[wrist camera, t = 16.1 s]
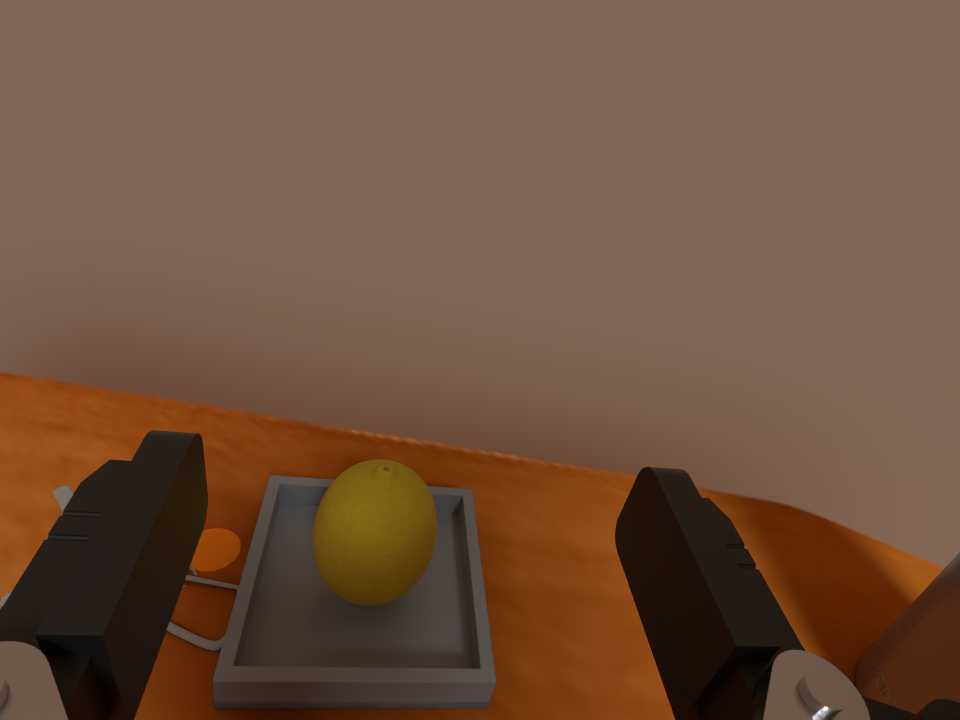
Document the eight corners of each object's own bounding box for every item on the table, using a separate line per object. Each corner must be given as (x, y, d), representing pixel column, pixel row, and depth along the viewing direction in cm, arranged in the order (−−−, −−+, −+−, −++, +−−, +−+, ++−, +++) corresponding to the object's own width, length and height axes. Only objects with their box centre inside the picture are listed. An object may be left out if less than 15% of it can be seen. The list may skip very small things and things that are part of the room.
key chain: (292, 548, 31) (292, 537, 31) (212, 680, 25) (211, 669, 24) (69, 482, 32) (66, 470, 31) (-63, 594, 26) (-69, 581, 25)
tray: (465, 513, 35) (472, 489, 34) (486, 708, 26) (496, 683, 25) (269, 501, 33) (270, 474, 32) (214, 708, 24) (212, 681, 22)
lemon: (333, 661, 26) (347, 536, 21) (293, 563, 29) (298, 441, 25) (443, 613, 29) (474, 496, 24) (394, 530, 32) (414, 416, 28)
